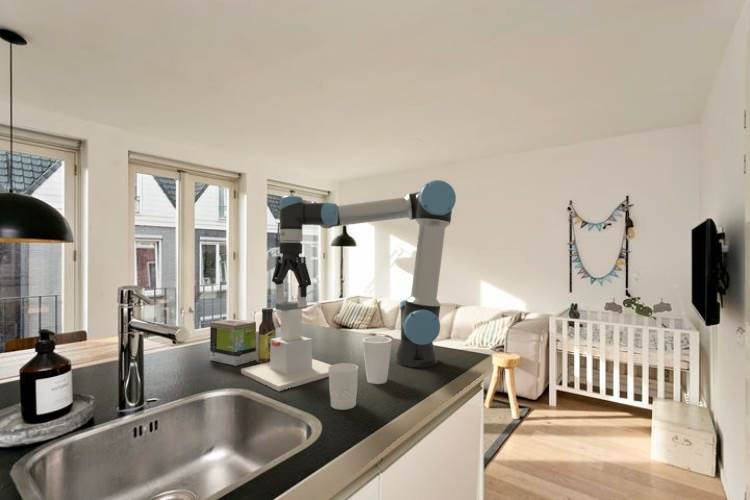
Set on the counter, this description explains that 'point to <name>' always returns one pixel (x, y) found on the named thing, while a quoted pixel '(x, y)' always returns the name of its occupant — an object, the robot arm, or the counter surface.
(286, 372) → the post stand
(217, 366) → the counter surface
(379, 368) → the foam cup
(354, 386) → the white cup
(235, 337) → the tea box
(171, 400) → the counter surface
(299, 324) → the post
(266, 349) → the sauce bottle
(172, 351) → the counter surface
